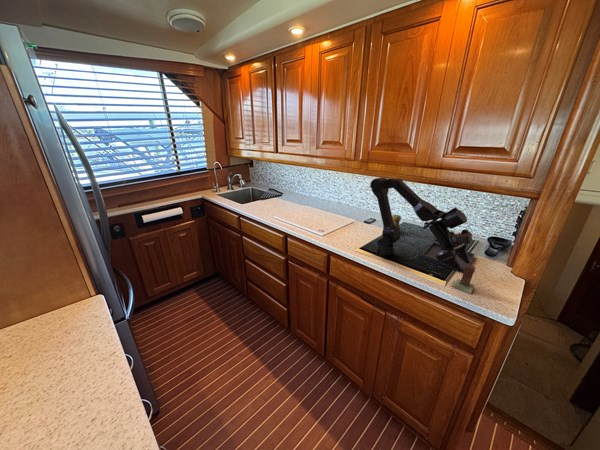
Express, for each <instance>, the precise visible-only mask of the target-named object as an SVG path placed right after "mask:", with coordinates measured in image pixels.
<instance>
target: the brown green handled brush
mask: <svg viewBox="0 0 600 450" xmlns="http://www.w3.org/2000/svg"><path fill="white" fill-rule="evenodd" d="M475 271H476V266H473V265H471V264H470V265H466V267H465V269H464V272H463V273H462V276H461V278H460V279H459V278H456V280H455V282H454V284H453V288H456V289H458V290H461V291H463V292H465V293H469V294H472V293H473V290H474V287H475V284H473V283H471V281H472V278H473V276H474V273H475Z"/></svg>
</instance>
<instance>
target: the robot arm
mask: <svg viewBox="0 0 600 450" xmlns="http://www.w3.org/2000/svg"><path fill="white" fill-rule="evenodd" d="M370 189H371V191H372V194H373V195H374V196H375V198H376V199H377V204H378V208H379V213H380V217H381V221H382V225H383V227H382V231H381V235H382V237H381V238H379V239H378V240H377V242H376V244H377V246H378V247H377V252H376V253H375V255H376V256H378V257H381V258H384V259H386V260H389V259H390V258H392V257H393V256H394V251H395V248H394V246H395V243H396V242H398V241H399V240H400V239H401V235H402V233H401V228H400V226H399V227H396V226H395V225H394V222H393V218H392V216H393V214H392V210H391V209H392V208H391V205H390V200H389V196H388V195H389V191H390V189H394V190H395V192H397V193H398V194H399V195H400V196H401V197H402V198H403V199H404V200H405V201H406V202H407V203H408V204H409V205H410V206H411V208H413V211H414V213H415V215H416V216H417V217H418V219H419V220H420V221H421V222H424V223H423V227H422V230H426V229H429V231H430V232H431V233H432V235H433V236H434V238H435V239H434V242H436V243H439V244H440V245H441V247H442V248H441V250H442V251H440V252H439V253H437V254H436V258H437V260H438V261H441V262H443V263H445V264H447V265H449V266H450V267H452V268H454V269H455V270H454V269H453V270H454V271H457V272H458V273H462V269H461V267H460V265H459V263H458V261H457V256H458V257H460V258H461V259H462V260H463V261H464V262H465V263H467V264H469V263H470V261H469V258H468V255H467V252H468V251H467V248H468V245H469V244H471V243H472V242H473V241H474V240H473V233H472V232H471V231H469V229H467V228H466V229H462V230H461V231H460V232H458V233H455V232H454V231H453V229H455V228H457V227H459V226H461V225H463V224H466V223H467V222H468V217H467V216H466V213H464V212H463V211H462V210H461V209H459V208H458V207H457V206H455V207H453V208H451V209H450V210H448V211H447V212H446V211H443V210H440V209H438V208H437V207H436V206H435V205H433V204H431V202H428V201H426V200H424V199H422V198H421V197H420V196H419V195H418V194H417V193H416V192H414V190H413V189H412V188H410V186H409V185H407V184H406V183H405V182H404V180H403V179H402V178H401V177H399V178H386V177H385V176H380V177H377V178H374V179H372V180H371V182H370ZM449 229H452V230H451V231H450V230H449Z"/></svg>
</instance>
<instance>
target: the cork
mask: <svg viewBox="0 0 600 450" xmlns="http://www.w3.org/2000/svg"><path fill="white" fill-rule="evenodd" d="M392 218H393V222H394V225H395V226H396V227H400V222H401V220H402V217H401V215H399V214H392Z"/></svg>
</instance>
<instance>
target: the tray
mask: <svg viewBox="0 0 600 450" xmlns="http://www.w3.org/2000/svg"><path fill="white" fill-rule="evenodd" d="M441 248H442V247H441V245H440V244H439V242H435V241H432V242H431V243H430V245H428V247H427V248H425V250H424V251H423V252H422V253H421V255H420V259H422V260H426V261H428V262H431V263H434V264H437V265H440V266H443V267H445V268H448V269H451V270H454V271H456V270H455V269H454V268H452V267H450V266H449V265H447V264H445V263H443V262H441V261H438V260H437V258H436V254H437V253H439V252H440V251H442V250H441ZM466 252H467V255H468V258H469V261H470V263H469V264H467V263H465V262H464V261H463V260H462V259H461V258H460V257H458V256H457V261H458V263H459V265H460V267H461V269H462V272H461V273H462V274H463V272H464V269H465V267H466V265H470V266H471V264H472V262H473V260H474V259H475V256H476V254H475V253H473V252H470V251H466Z"/></svg>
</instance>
